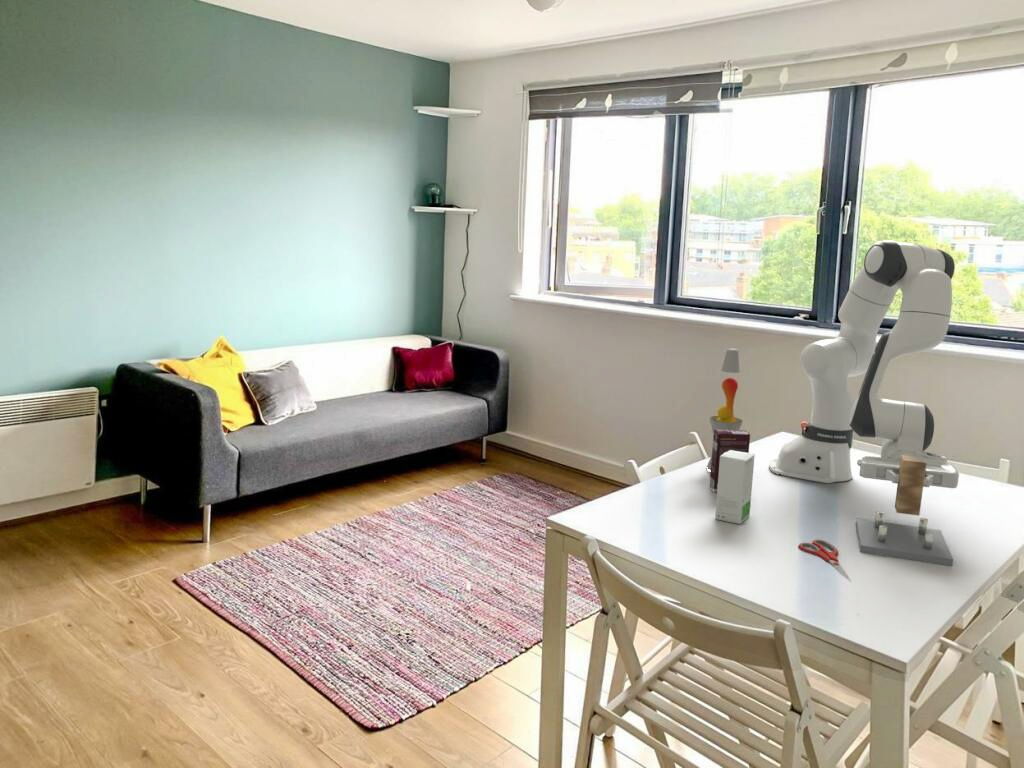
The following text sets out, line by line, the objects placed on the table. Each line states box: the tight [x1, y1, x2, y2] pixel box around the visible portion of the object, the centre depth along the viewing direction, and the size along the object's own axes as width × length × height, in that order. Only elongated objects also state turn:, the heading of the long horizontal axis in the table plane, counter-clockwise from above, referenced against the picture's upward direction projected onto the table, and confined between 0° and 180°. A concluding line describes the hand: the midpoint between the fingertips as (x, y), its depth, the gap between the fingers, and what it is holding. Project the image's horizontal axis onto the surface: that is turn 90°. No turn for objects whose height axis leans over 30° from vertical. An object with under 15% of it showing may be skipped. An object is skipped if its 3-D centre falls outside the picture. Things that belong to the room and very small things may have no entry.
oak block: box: [894, 455, 926, 517], centre depth 181 cm, size 4×4×12 cm
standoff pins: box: [874, 511, 934, 550], centre depth 183 cm, size 11×11×4 cm
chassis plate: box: [855, 518, 954, 567], centre depth 184 cm, size 18×18×2 cm
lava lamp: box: [706, 348, 743, 470], centre depth 230 cm, size 9×9×35 cm
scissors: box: [797, 539, 852, 583], centre depth 172 cm, size 8×21×2 cm, turn 13°
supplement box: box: [709, 429, 751, 492], centre depth 216 cm, size 9×5×16 cm, turn 92°
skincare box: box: [714, 450, 756, 525], centre depth 195 cm, size 8×7×16 cm
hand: (911, 481), depth 180 cm, fingers closed on oak block, 4 cm apart
